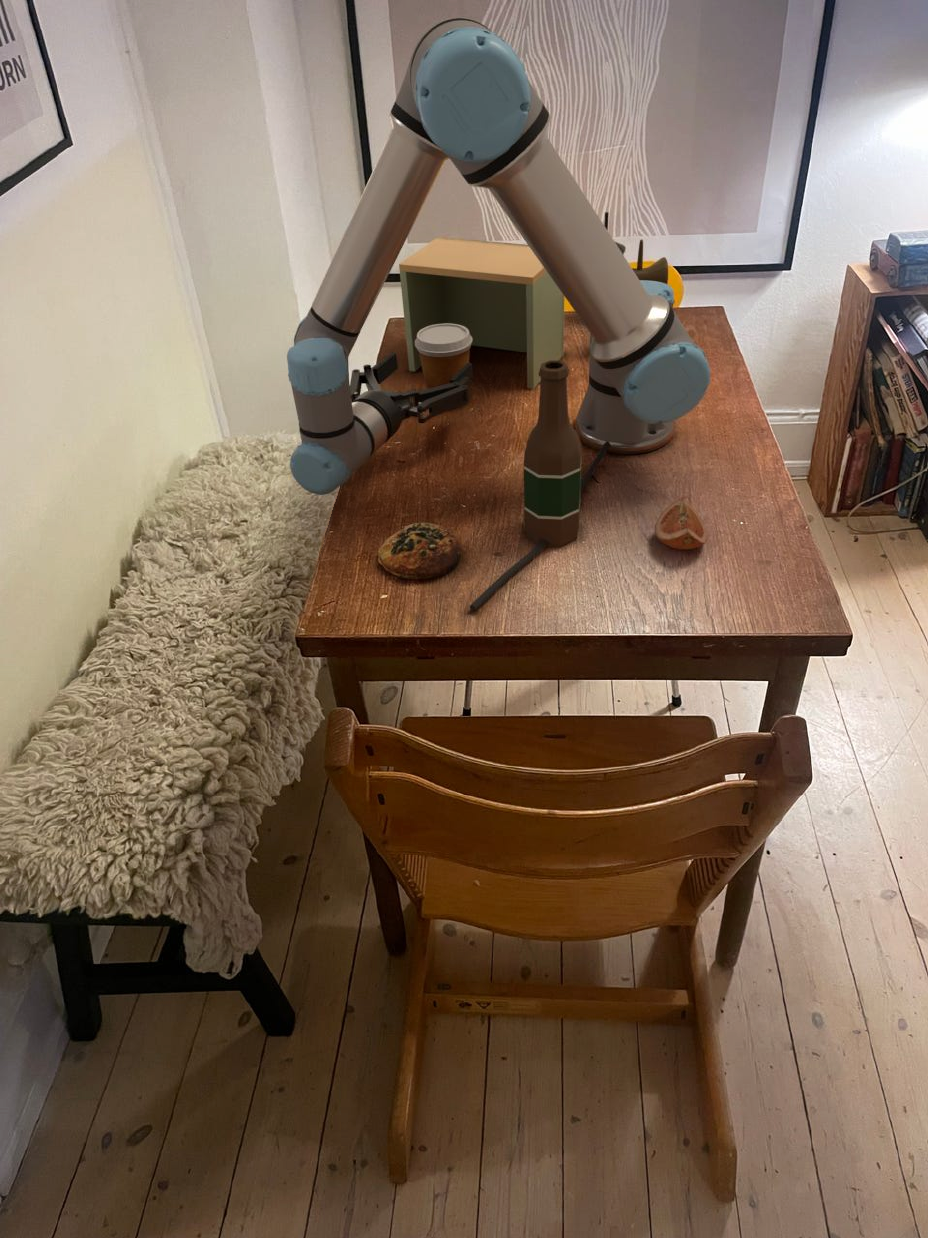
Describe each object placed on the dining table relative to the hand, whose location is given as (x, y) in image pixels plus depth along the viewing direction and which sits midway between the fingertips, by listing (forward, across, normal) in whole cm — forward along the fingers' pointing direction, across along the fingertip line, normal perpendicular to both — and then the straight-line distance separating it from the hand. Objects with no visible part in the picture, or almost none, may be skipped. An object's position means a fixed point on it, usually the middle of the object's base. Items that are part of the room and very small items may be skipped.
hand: (432, 365), depth 147 cm
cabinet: (+21, 0, -9) cm, 23 cm away
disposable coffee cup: (+5, 0, -9) cm, 10 cm away
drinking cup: (+48, +13, -9) cm, 50 cm away
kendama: (+34, +24, -9) cm, 43 cm away
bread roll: (-38, +17, -9) cm, 42 cm away
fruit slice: (-23, +48, -9) cm, 54 cm away
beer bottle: (-26, +31, -9) cm, 41 cm away
